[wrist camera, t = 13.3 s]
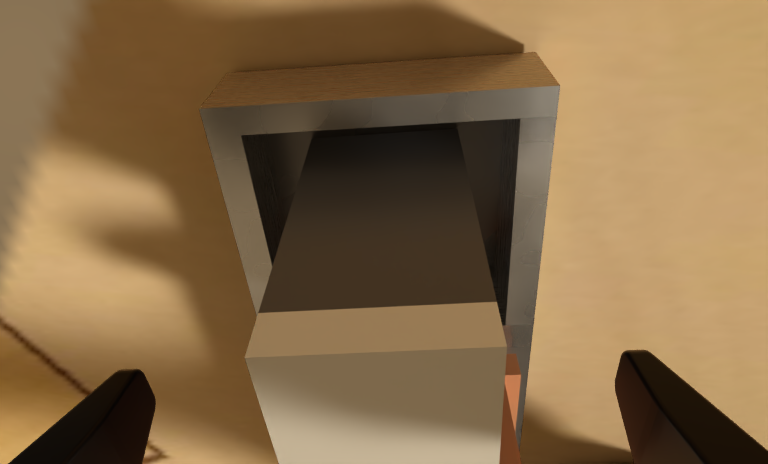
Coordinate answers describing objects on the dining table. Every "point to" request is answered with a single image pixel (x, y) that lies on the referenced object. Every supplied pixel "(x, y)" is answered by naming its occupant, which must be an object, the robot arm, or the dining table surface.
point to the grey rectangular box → (393, 115)
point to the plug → (381, 311)
